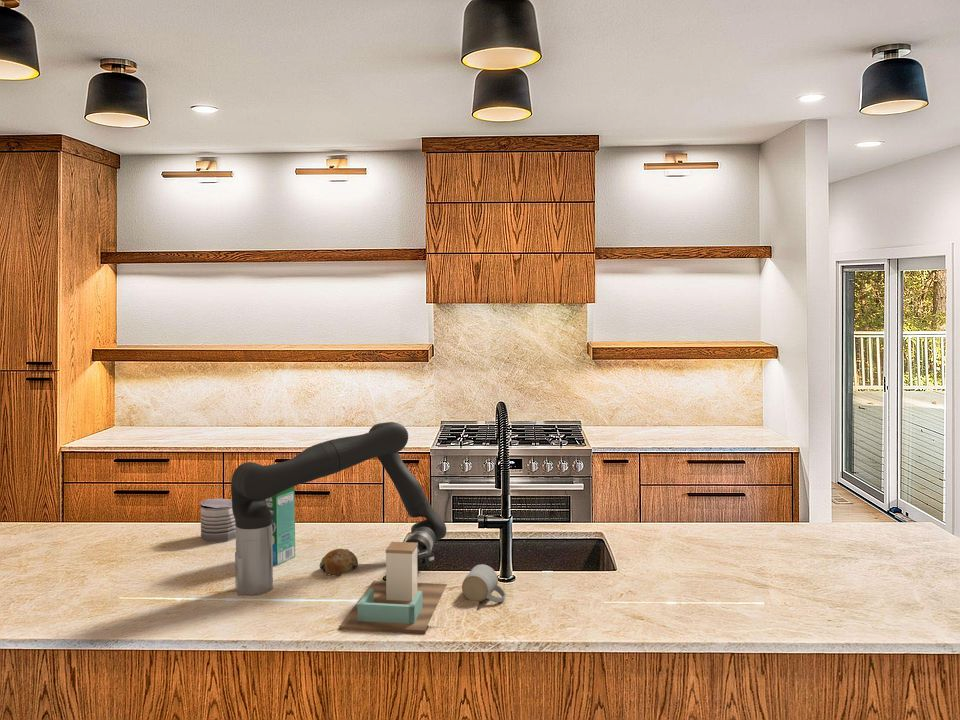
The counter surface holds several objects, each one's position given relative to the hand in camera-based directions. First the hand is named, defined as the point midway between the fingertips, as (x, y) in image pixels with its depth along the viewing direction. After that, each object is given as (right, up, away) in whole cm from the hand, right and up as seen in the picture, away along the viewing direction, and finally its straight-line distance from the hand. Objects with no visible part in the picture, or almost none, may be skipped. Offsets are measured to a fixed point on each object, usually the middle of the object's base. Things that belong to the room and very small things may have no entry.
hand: (404, 567), depth 197 cm
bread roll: (-20, -6, +19) cm, 28 cm away
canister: (0, -6, -3) cm, 7 cm away
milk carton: (-41, -5, +28) cm, 50 cm away
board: (-1, -8, -8) cm, 11 cm away
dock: (-2, -8, -14) cm, 16 cm away
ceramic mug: (+21, -8, -2) cm, 22 cm away
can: (-65, -4, +49) cm, 82 cm away
